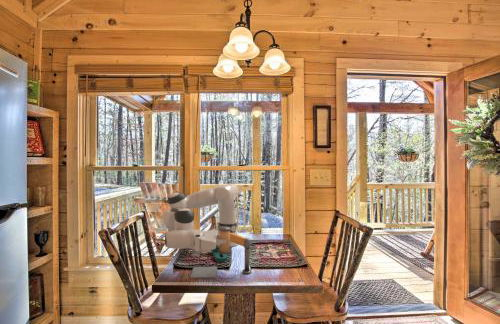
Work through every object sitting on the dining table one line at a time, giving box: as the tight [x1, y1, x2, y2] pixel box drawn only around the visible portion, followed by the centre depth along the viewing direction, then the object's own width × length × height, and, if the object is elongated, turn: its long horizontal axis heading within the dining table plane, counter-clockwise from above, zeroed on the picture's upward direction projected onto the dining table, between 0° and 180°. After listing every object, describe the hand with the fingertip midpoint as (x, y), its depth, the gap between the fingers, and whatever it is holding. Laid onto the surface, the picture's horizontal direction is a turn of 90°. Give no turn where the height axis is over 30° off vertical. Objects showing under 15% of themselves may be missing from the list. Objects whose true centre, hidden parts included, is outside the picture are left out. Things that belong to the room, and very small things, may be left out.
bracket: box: [211, 245, 229, 263], centre depth 161 cm, size 18×7×8 cm, turn 16°
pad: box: [189, 266, 218, 280], centre depth 139 cm, size 12×12×1 cm
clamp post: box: [241, 247, 252, 275], centre depth 140 cm, size 4×4×12 cm
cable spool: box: [218, 226, 231, 255], centre depth 139 cm, size 6×6×12 cm
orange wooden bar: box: [230, 233, 251, 249], centre depth 144 cm, size 16×3×4 cm, turn 40°
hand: (226, 238), depth 139 cm, fingers closed on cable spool, 5 cm apart
